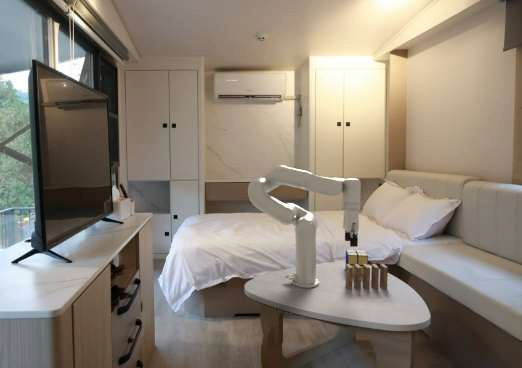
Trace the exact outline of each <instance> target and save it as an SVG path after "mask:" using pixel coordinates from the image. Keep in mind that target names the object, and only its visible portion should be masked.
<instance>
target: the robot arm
mask: <svg viewBox="0 0 522 368" xmlns="http://www.w3.org/2000/svg"><path fill="white" fill-rule="evenodd" d="M281 185H283V186H289V187H293V188H297V189H302V190H305V191H307V192H308V191H309V192H313V193H317V194H321V195H326V196H329V197H330V196H331V197H337V196H338V195H341V194H342V209H343V218H342V228H343V230H344V241H345V242H349V246H350V247H353V248H354V247H355V248H357V247H358V244H359V243H358V239H359V235H358V234H359V233H358V232H359V230H360V229H359V226H360V225H359V223H360V221H359V220H360V219H359V218H360V217H359V211H360V210H361V190H362V189H361V187H362V186H361V185H362V184H361V180H360V179H359V178H339V177H326V176H321V175H317V174H313V173H312V172H310V171H307V170H304V169H303V170H302V169H299V168H294V167H288V166H287V165H283V164H280V165H279V164H278V165H276V166H274V167H273V168H272V169H271V170H270V171H269V172H267V173H266V174H264V175H263V176H261V177H258V178H255V179H252V180H251V181H250V182H249V184H248V187H247V195H248V199H249V201H250V202H251V204H252V205H253V206H254V207H255V208H257V209H258V210H260V211H261V212H263V213H264V214H266V215H267V216H269V217H271V218H272V219H274V220H276V221H277V222H279V223H280V224H282V225H285V226H288V225H293V226H295V227H294V233H295V235H294V237H295V271H294V273H292V274H287V273H285V279H288V280H290V281H291V283H292V284H293V286H296V287H298V288H304V289H305V288H307V289H308V288H309V289H311V288H315V287H317V286H319V284H320V281H319V279H318V278H317V277H316V276H317V275H316V274H317V230H318V227H319V221H318V219H317V217H316V216H315V215H314V214H312V212H310V211H308V210H305V208H302V207H300V205H297V204H295V203H292V202H286V203H285V202H282V201H280V200H278V199H277V198H275V197H274V196H271V195H270V194H268V193H270V192H271V191H273V190H274V189H276V188H278V187H280V186H281Z"/></svg>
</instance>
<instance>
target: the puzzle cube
mask: <svg viewBox="0 0 522 368" xmlns="http://www.w3.org/2000/svg"><path fill="white" fill-rule="evenodd" d="M346 264H350V265H351V266H352V267H353V275H354V266H355V264H358V265H359V266H360V267H361V276H363V264H367V265H368V266H369V256H368V254H367V252H366V250H362V249H361V250H358V249H356V250H355V249H346V250H345V265H346Z"/></svg>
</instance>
